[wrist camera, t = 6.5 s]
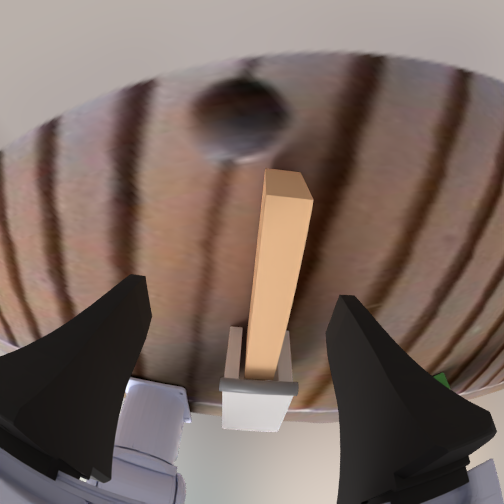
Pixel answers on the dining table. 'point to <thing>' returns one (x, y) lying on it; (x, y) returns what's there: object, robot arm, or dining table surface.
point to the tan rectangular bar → (276, 268)
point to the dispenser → (255, 391)
